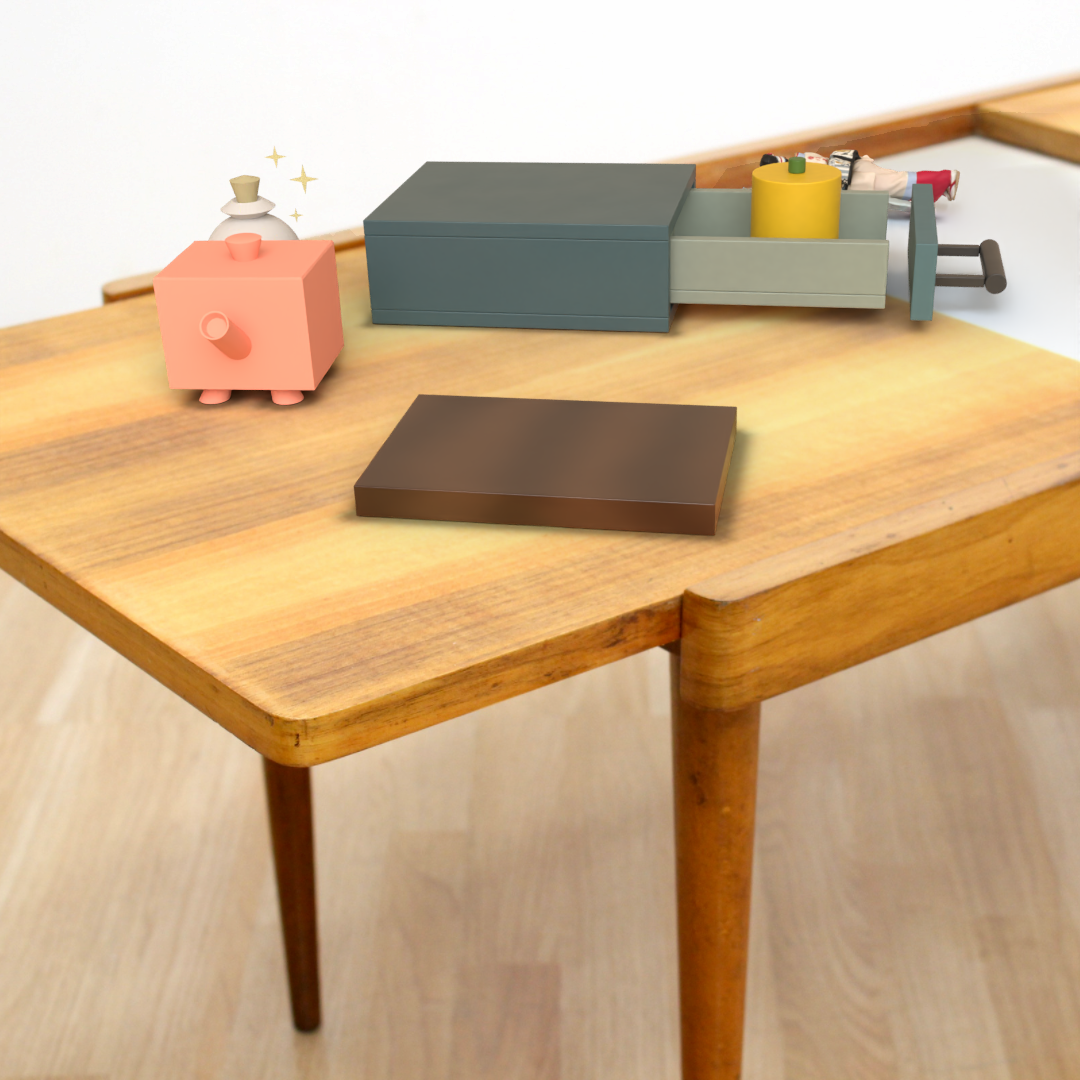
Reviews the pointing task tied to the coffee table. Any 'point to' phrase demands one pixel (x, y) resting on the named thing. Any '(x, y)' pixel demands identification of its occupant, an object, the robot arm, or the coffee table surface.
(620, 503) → the board
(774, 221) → the pepper
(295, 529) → the coffee table surface
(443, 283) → the cabinet
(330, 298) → the pink cube teapot
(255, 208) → the corked potion bottle
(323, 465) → the coffee table surface
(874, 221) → the drawer
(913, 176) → the figurine
